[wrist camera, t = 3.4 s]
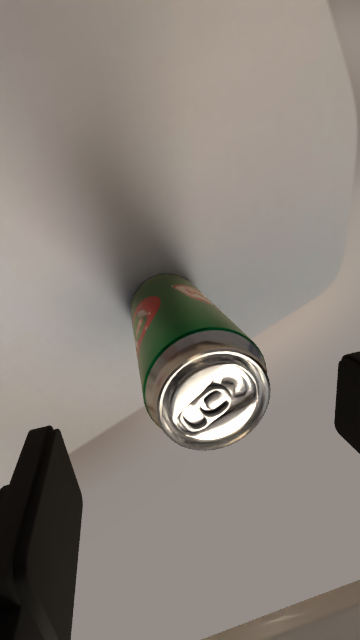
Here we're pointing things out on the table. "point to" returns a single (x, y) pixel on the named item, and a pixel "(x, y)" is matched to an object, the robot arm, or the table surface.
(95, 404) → the table surface
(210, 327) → the soda can
